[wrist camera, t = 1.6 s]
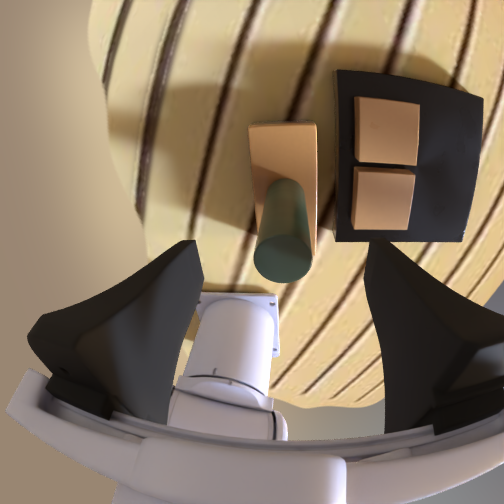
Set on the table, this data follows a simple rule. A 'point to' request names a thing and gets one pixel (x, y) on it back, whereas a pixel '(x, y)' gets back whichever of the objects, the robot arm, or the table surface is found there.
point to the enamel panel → (428, 156)
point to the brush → (284, 197)
